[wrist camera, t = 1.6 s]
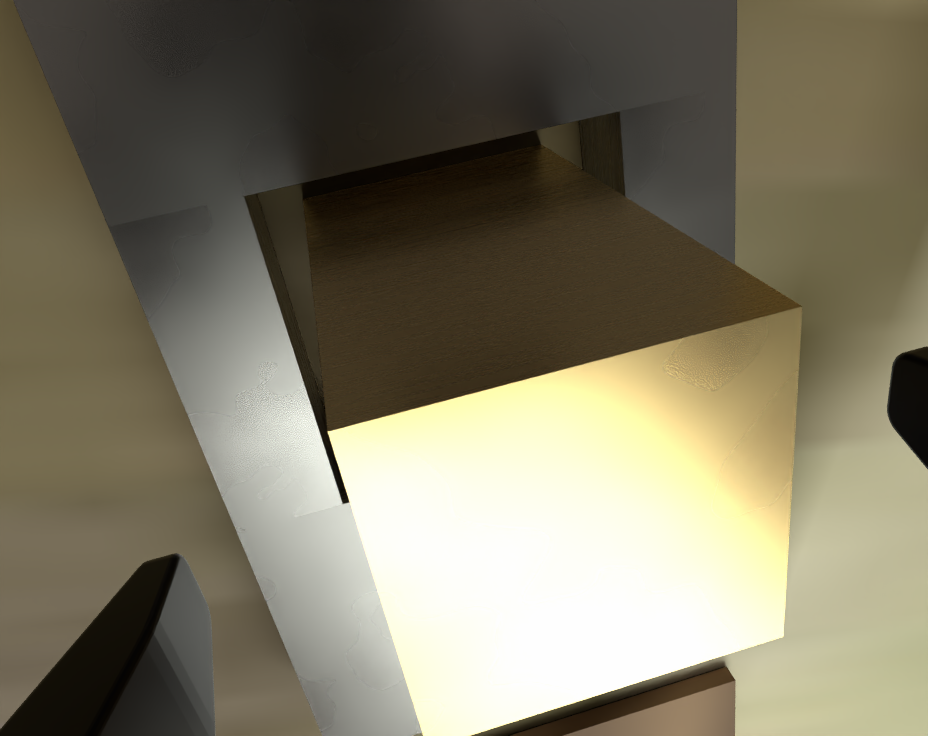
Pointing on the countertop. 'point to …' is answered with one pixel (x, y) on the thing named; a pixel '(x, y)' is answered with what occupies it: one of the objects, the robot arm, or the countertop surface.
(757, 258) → the countertop surface
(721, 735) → the copper pad
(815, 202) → the countertop surface
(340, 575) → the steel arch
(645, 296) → the wood grain block
